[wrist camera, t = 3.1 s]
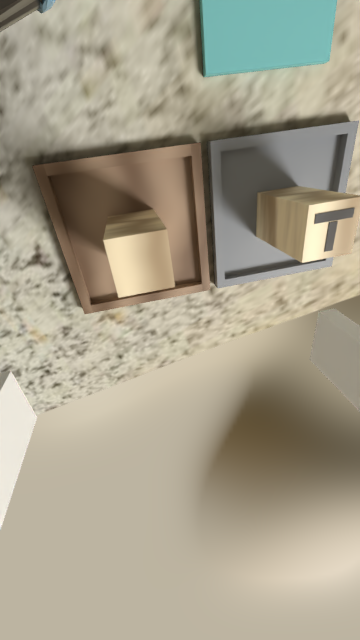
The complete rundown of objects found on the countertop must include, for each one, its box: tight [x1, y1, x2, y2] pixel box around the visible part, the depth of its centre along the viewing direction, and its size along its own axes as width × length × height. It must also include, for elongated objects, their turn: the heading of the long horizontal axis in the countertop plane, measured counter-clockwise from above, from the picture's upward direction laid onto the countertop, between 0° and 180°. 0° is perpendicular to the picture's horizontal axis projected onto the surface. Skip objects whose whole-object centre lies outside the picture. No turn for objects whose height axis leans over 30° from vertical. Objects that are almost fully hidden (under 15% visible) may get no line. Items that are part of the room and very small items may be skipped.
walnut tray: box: [32, 142, 210, 314], centre depth 30 cm, size 16×16×1 cm
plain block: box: [103, 209, 175, 298], centre depth 27 cm, size 5×5×10 cm
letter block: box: [256, 186, 360, 263], centre depth 28 cm, size 5×5×10 cm
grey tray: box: [207, 121, 359, 288], centre depth 32 cm, size 16×16×1 cm
